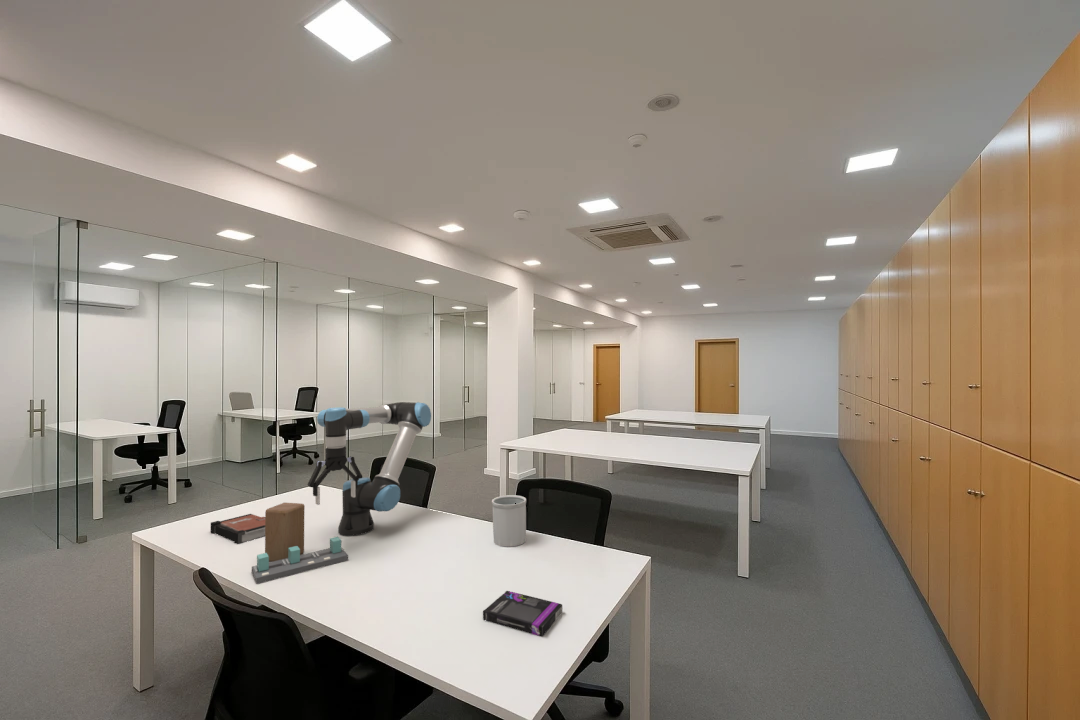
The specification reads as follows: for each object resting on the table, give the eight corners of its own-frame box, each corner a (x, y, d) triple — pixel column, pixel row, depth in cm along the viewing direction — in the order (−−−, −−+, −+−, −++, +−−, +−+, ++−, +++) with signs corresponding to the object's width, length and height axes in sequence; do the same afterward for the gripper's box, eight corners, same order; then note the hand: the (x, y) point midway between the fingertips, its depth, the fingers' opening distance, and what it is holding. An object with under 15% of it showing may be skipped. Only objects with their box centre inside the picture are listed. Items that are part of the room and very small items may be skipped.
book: (280, 532, 203) (280, 521, 203) (237, 545, 189) (238, 533, 189) (252, 522, 217) (252, 512, 218) (210, 533, 203) (210, 522, 203)
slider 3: (337, 548, 178) (337, 536, 178) (341, 551, 175) (341, 539, 175) (329, 550, 176) (329, 538, 176) (333, 553, 173) (333, 541, 173)
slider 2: (297, 557, 169) (297, 545, 169) (299, 561, 166) (300, 549, 166) (288, 560, 167) (288, 547, 167) (290, 563, 164) (290, 551, 164)
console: (339, 550, 181) (339, 544, 181) (348, 560, 172) (348, 553, 172) (251, 572, 162) (251, 564, 162) (256, 584, 153) (256, 576, 153)
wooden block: (286, 564, 169) (286, 510, 169) (263, 561, 171) (264, 509, 171) (305, 553, 179) (305, 503, 179) (283, 551, 181) (284, 501, 181)
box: (562, 615, 134) (506, 599, 143) (562, 603, 134) (506, 588, 143) (541, 640, 121) (481, 620, 130) (542, 627, 121) (482, 608, 130)
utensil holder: (485, 544, 187) (485, 502, 187) (501, 532, 201) (501, 493, 201) (517, 549, 181) (517, 506, 182) (532, 537, 195) (531, 496, 195)
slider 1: (266, 565, 163) (266, 552, 163) (268, 569, 159) (268, 556, 159) (256, 567, 161) (257, 554, 161) (258, 571, 157) (258, 558, 157)
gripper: (363, 441, 189) (363, 492, 189) (298, 449, 172) (298, 505, 172) (370, 443, 184) (370, 495, 184) (304, 452, 167) (304, 509, 166)
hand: (335, 500), depth 178 cm, fingers open, 13 cm apart
